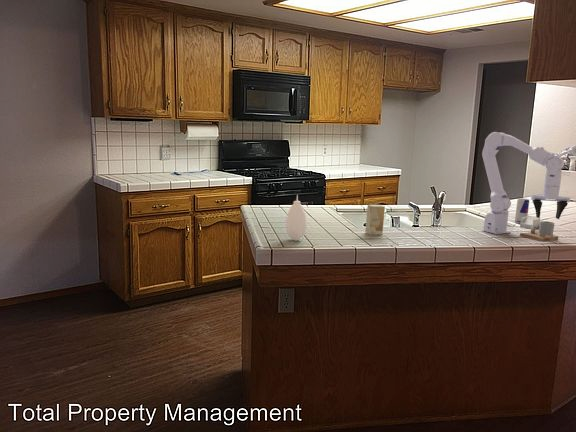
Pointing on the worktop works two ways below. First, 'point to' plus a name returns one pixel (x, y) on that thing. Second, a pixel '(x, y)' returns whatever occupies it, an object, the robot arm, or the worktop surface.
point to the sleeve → (546, 229)
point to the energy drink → (521, 209)
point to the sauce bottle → (296, 221)
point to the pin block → (534, 235)
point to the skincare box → (375, 219)
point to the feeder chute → (530, 222)
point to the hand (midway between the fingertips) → (547, 218)
